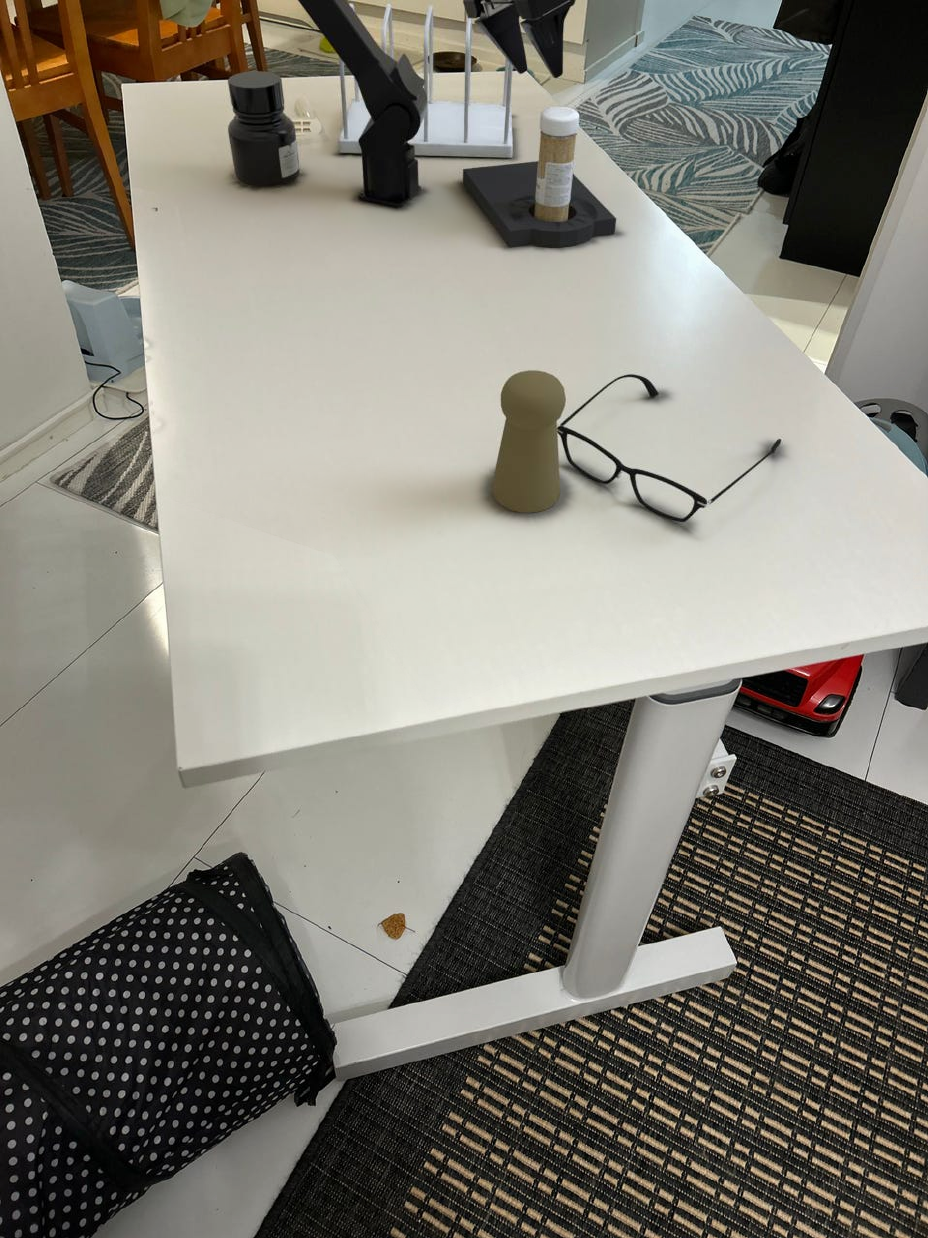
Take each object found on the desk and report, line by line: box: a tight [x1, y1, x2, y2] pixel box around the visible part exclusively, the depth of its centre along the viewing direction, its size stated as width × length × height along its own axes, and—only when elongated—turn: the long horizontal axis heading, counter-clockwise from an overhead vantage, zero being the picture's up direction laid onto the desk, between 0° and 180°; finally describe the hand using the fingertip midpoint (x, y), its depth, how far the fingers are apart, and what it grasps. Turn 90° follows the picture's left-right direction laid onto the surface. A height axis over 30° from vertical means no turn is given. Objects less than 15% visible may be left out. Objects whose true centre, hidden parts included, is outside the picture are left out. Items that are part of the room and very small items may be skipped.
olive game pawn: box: [491, 369, 567, 514], centre depth 75 cm, size 6×6×11 cm
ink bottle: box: [227, 70, 301, 188], centre depth 120 cm, size 10×9×12 cm
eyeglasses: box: [557, 373, 782, 523], centre depth 81 cm, size 16×16×4 cm
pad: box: [462, 160, 617, 248], centre depth 117 cm, size 22×14×2 cm, turn 17°
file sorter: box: [338, 3, 514, 159], centre depth 130 cm, size 25×17×16 cm
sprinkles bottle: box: [534, 106, 580, 222], centre depth 110 cm, size 5×5×13 cm
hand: (540, 74), depth 108 cm, fingers open, 9 cm apart
